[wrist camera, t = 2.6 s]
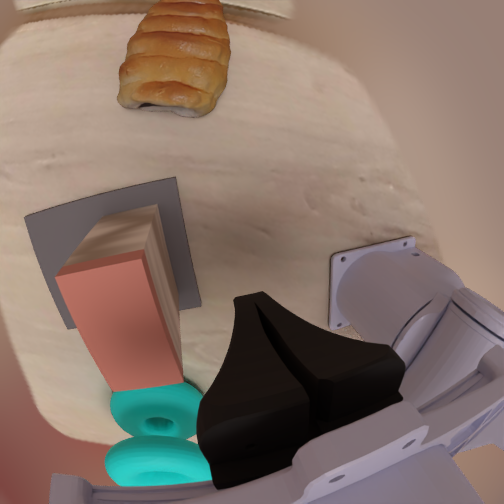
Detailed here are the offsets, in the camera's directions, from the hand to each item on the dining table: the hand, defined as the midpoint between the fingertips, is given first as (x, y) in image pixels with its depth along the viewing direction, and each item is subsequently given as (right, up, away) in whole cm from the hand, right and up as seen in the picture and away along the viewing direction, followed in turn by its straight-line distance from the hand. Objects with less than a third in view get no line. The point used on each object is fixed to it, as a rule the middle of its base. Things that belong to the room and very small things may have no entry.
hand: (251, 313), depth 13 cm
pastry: (-5, +15, +3) cm, 16 cm away
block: (-8, +2, +7) cm, 11 cm away
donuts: (-10, -13, +14) cm, 21 cm away
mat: (-10, +2, +7) cm, 13 cm away
